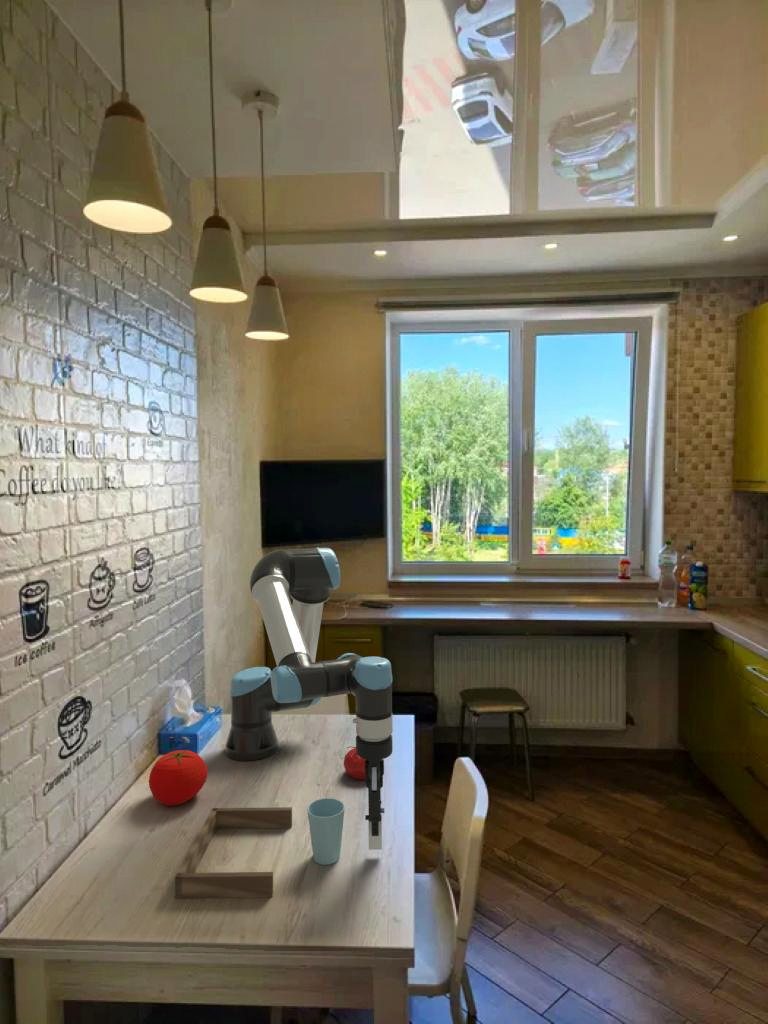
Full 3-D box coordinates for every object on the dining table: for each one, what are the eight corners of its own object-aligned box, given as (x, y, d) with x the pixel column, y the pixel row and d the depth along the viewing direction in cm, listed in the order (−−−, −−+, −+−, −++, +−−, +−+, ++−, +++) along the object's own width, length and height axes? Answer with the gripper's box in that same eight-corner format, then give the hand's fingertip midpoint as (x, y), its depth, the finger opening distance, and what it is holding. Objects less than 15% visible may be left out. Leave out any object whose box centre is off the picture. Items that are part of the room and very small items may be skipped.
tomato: (163, 785, 152) (162, 741, 152) (214, 787, 151) (214, 742, 151) (138, 812, 140) (137, 763, 139) (194, 814, 139) (193, 765, 138)
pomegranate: (348, 786, 151) (347, 751, 151) (340, 769, 161) (339, 735, 161) (385, 780, 154) (384, 745, 154) (374, 763, 164) (373, 730, 163)
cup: (302, 852, 123) (301, 803, 123) (335, 841, 127) (335, 794, 127) (316, 872, 116) (315, 821, 116) (351, 860, 120) (350, 810, 120)
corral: (213, 825, 134) (212, 808, 134) (292, 824, 134) (291, 807, 134) (175, 898, 109) (175, 877, 109) (272, 897, 109) (271, 876, 109)
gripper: (357, 722, 127) (358, 829, 128) (354, 748, 114) (355, 867, 115) (391, 722, 128) (392, 829, 128) (392, 747, 114) (394, 867, 115)
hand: (375, 847), depth 122 cm, fingers closed
